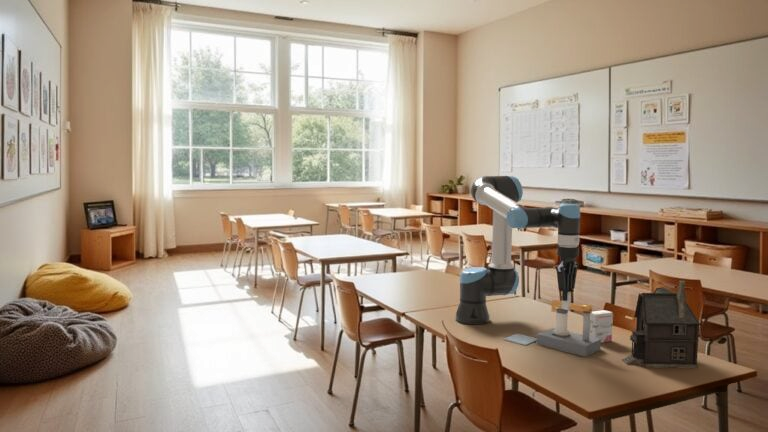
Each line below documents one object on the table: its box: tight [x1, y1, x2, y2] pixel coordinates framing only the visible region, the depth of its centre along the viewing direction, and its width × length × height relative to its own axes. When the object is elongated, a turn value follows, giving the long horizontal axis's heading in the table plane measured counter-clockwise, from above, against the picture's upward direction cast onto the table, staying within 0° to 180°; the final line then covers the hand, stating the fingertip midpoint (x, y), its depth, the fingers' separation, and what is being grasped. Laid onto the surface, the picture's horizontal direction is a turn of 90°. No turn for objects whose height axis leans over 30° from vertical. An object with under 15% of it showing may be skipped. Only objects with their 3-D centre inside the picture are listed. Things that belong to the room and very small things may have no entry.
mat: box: [503, 333, 537, 346], centre depth 222 cm, size 10×10×1 cm
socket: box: [536, 312, 602, 358], centre depth 214 cm, size 20×12×15 cm, turn 44°
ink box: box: [589, 309, 614, 343], centre depth 221 cm, size 9×5×12 cm, turn 112°
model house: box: [621, 280, 702, 369], centre depth 199 cm, size 16×23×30 cm
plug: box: [553, 307, 571, 338], centre depth 216 cm, size 6×6×14 cm
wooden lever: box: [551, 299, 593, 314], centre depth 212 cm, size 16×4×5 cm, turn 44°
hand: (565, 308), depth 207 cm, fingers closed
